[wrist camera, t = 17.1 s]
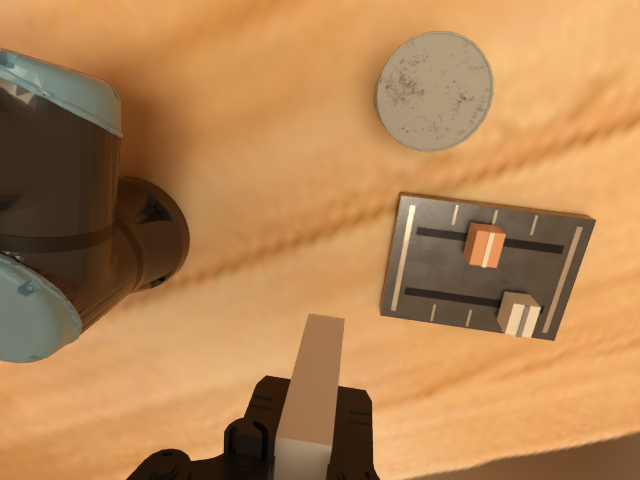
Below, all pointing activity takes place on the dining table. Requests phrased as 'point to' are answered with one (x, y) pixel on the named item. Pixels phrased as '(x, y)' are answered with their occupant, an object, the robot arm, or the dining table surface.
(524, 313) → the fader ivory
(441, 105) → the grey speckled cylinder
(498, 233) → the fader terracotta
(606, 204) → the dining table surface
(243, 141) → the dining table surface
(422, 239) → the console
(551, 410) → the dining table surface
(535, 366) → the dining table surface
